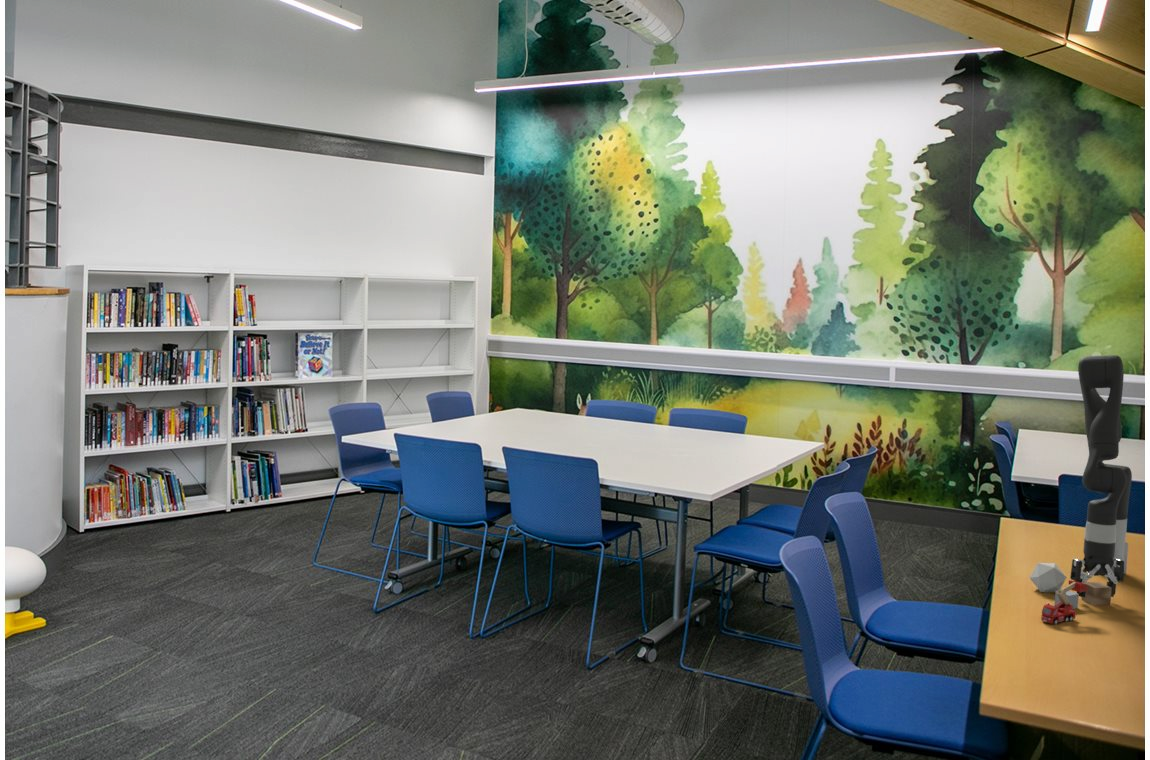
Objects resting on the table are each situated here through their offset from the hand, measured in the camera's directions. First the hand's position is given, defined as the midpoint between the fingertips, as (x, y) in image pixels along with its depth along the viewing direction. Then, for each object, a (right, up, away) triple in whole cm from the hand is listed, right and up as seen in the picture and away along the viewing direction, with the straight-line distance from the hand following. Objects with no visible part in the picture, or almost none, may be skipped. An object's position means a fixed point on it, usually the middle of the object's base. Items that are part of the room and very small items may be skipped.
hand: (1095, 596), depth 259 cm
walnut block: (0, -2, 0) cm, 2 cm away
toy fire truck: (-17, -3, -15) cm, 23 cm away
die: (-8, -1, +10) cm, 13 cm away
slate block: (-10, -2, -4) cm, 11 cm away
